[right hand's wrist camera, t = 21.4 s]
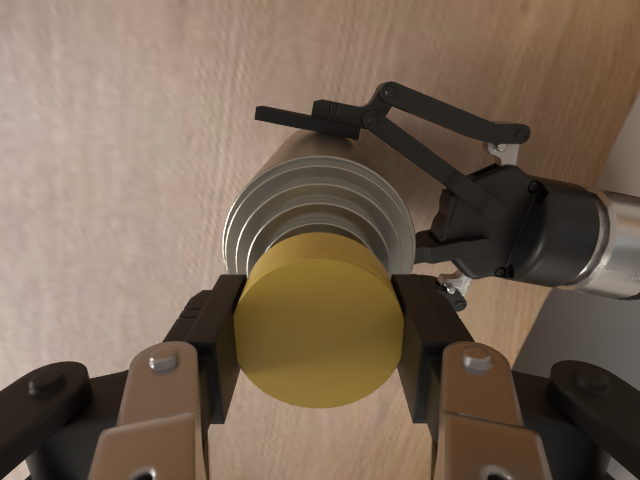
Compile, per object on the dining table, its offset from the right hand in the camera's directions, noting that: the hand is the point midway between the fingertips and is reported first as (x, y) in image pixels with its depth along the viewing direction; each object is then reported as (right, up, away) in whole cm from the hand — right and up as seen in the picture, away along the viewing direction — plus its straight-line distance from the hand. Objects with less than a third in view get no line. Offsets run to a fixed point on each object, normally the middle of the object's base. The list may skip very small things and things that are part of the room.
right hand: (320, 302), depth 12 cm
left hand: (-5, +6, +14) cm, 16 cm away
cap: (0, -1, -2) cm, 2 cm away
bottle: (0, +7, +21) cm, 22 cm away
